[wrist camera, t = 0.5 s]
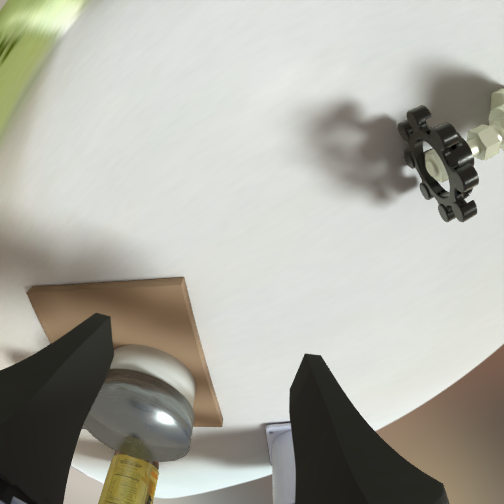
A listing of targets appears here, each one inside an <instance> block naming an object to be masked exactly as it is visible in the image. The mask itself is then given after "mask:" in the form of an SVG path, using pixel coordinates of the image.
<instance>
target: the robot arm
mask: <svg viewBox="0 0 504 504" xmlns="http://www.w3.org/2000/svg"><path fill="white" fill-rule="evenodd" d="M113 358H114V349H113V340H112V329H111V316H107V315H103V314H100V313H95V314H93V315H92V316H90V317H89V318H87V319H86V320H85V321H83V322H82V323H80V324H79V325H78V326H76V327H75V328H73V329H72V330H71V331H69V332H68V333H66V334H65V335H63V336H62V337H61V338H59V339H58V340H56V341H55V342H53V343H52V344H50V345H48V346H47V347H45V348H44V349H42V350H40V351H39V352H37V353H36V354H34V355H32V356H30V357H28V358H27V359H25V360H23V361H21V362H19V363H17V364H15V365H12V366H10V367H8V368H5V369H3V370H0V504H63V501H64V494H65V488H66V483H67V478H68V474H69V469H70V465H71V462H72V458H73V454H74V451H75V447H76V444H77V441H78V438H79V435H80V432H81V429H82V427H83V424H84V422H85V420H86V418H87V416H88V413H89V411H90V409H91V407H92V405H93V403H94V401H95V399H96V397H97V395H98V393H99V391H100V389H101V387H102V385H103V383H104V381H105V379H106V377H107V375H108V372H109V369H110V366H111V363H112V361H113ZM289 413H290V422H291V423H286V424H272V425H267V426H266V435H267V442H268V448H269V455H270V461H271V466H272V473H273V504H449V501H448V498H447V495H446V491H445V488H444V485H443V483H441V482H439V481H437V480H436V479H434V478H432V477H430V476H429V475H427V474H425V473H424V472H422V471H421V470H419V469H418V468H416V467H415V466H414V465H412V464H411V463H409V462H408V461H407V460H405V459H404V458H403V457H402V456H400V455H399V454H398V453H397V452H396V451H394V449H392V448H391V447H390V446H389V445H388V444H387V443H386V442H385V441H384V440H383V439H382V438H380V436H379V435H378V434H377V433H376V432H375V431H374V430H373V429H372V428H371V427H370V426H369V424H368V423H367V422H366V421H365V420H364V418H363V417H362V416H361V415H360V413H359V412H358V411H357V410H356V408H355V407H354V406H353V404H352V403H351V401H350V400H349V399H348V397H347V396H346V394H345V393H344V391H343V390H342V388H341V387H340V385H339V384H338V382H337V381H336V379H335V377H334V376H333V374H332V373H331V371H330V369H329V368H328V366H327V365H326V363H325V361H324V360H323V358H322V357H321V355H312V354H305V355H304V357H303V360H302V362H301V364H300V367H299V369H298V372H297V374H296V376H295V379H294V381H293V383H292V385H291V388H290V407H289Z"/></svg>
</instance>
